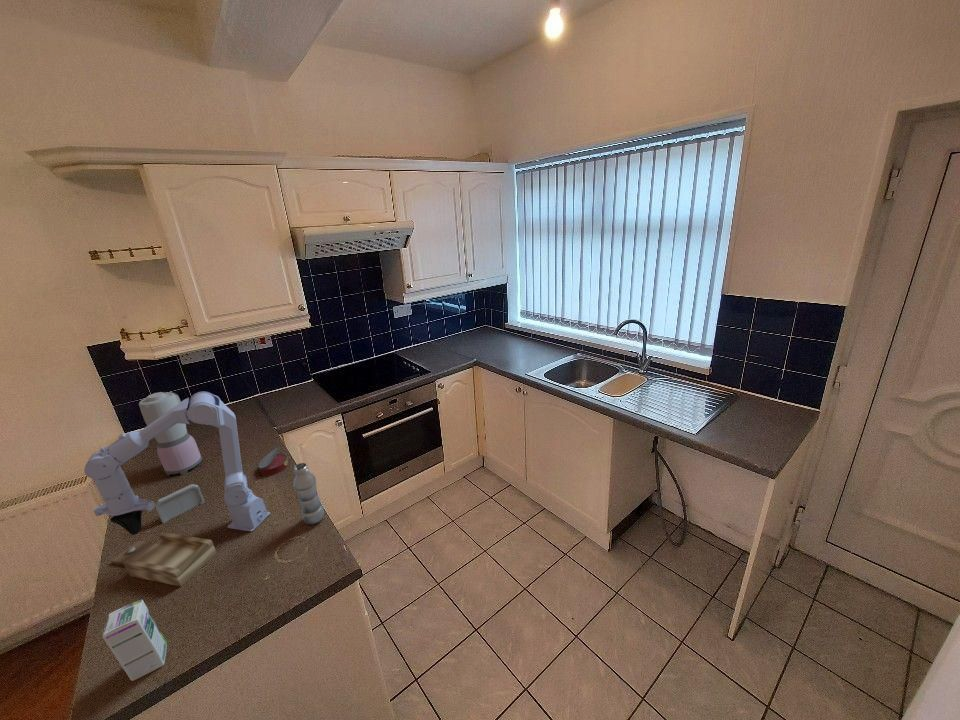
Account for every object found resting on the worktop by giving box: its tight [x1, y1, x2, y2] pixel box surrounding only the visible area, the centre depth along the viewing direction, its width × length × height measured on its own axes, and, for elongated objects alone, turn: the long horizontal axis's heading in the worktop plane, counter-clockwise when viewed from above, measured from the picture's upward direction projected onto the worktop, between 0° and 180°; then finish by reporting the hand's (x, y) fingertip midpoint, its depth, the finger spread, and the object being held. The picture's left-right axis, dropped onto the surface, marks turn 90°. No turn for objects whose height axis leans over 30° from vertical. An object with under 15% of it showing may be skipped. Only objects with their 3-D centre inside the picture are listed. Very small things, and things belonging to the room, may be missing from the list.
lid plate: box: [111, 540, 158, 566], centre depth 113 cm, size 10×7×2 cm
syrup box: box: [102, 599, 168, 682], centre depth 81 cm, size 6×6×14 cm
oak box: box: [123, 531, 218, 587], centre depth 108 cm, size 18×11×5 cm, turn 76°
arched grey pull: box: [154, 483, 206, 524], centre depth 128 cm, size 2×12×8 cm, turn 141°
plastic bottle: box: [292, 462, 325, 525], centre depth 118 cm, size 6×7×20 cm
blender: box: [138, 391, 203, 477], centre depth 150 cm, size 16×12×32 cm
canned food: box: [258, 445, 289, 477], centre depth 148 cm, size 11×10×10 cm
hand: (136, 531), depth 107 cm, fingers closed
